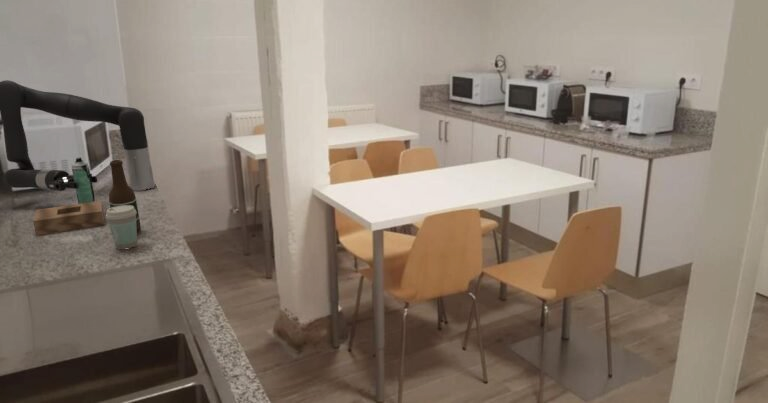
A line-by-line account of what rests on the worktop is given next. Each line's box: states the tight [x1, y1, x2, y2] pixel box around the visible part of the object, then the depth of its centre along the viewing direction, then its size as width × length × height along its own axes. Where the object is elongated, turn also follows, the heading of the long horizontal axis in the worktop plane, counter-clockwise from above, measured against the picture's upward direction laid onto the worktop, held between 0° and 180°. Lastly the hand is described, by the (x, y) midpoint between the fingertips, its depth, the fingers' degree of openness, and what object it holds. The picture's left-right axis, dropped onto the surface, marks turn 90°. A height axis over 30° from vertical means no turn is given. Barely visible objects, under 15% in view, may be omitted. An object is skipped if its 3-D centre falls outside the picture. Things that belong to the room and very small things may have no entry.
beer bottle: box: [108, 159, 142, 234], centre depth 179 cm, size 8×8×24 cm
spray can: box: [71, 157, 96, 204], centre depth 204 cm, size 6×6×20 cm
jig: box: [32, 200, 105, 236], centre depth 192 cm, size 20×14×5 cm
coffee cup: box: [105, 205, 138, 250], centre depth 169 cm, size 8×8×12 cm
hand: (87, 182), depth 203 cm, fingers open, 8 cm apart
